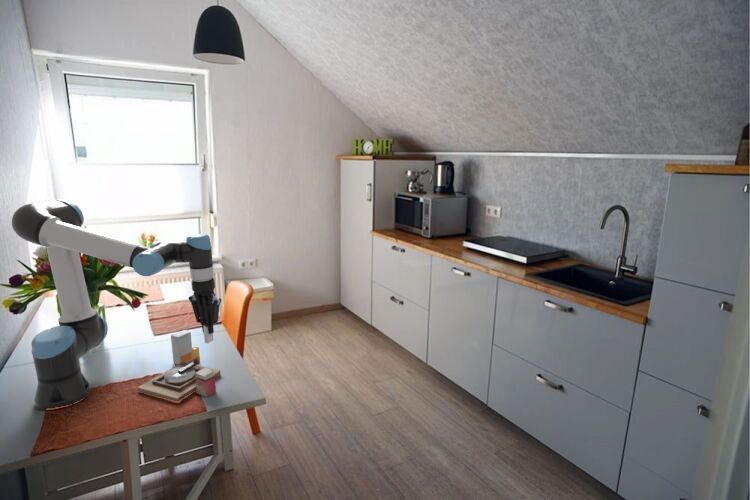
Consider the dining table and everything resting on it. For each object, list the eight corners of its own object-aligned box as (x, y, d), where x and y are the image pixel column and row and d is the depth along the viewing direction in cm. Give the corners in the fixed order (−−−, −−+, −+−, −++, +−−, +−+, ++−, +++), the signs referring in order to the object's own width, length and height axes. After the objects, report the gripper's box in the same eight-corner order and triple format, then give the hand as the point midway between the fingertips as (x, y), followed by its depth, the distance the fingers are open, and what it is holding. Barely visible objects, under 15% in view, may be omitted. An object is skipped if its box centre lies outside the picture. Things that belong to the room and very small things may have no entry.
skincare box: (180, 366, 167) (177, 337, 165) (173, 363, 170) (170, 334, 167) (193, 359, 172) (191, 331, 170) (187, 357, 175) (184, 329, 172)
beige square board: (177, 404, 143) (176, 395, 142) (138, 392, 149) (137, 384, 149) (220, 375, 161) (220, 368, 160) (183, 366, 167) (182, 359, 167)
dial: (179, 387, 148) (177, 366, 146) (158, 382, 152) (155, 361, 150) (210, 369, 161) (208, 349, 159) (189, 364, 165) (187, 344, 163)
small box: (196, 393, 149) (194, 372, 147) (206, 387, 152) (204, 367, 151) (206, 397, 146) (204, 376, 144) (216, 391, 150) (214, 370, 148)
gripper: (225, 277, 152) (230, 340, 158) (196, 273, 157) (202, 334, 162) (209, 283, 145) (216, 348, 151) (180, 279, 150) (187, 342, 156)
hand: (209, 341), depth 157 cm, fingers closed
